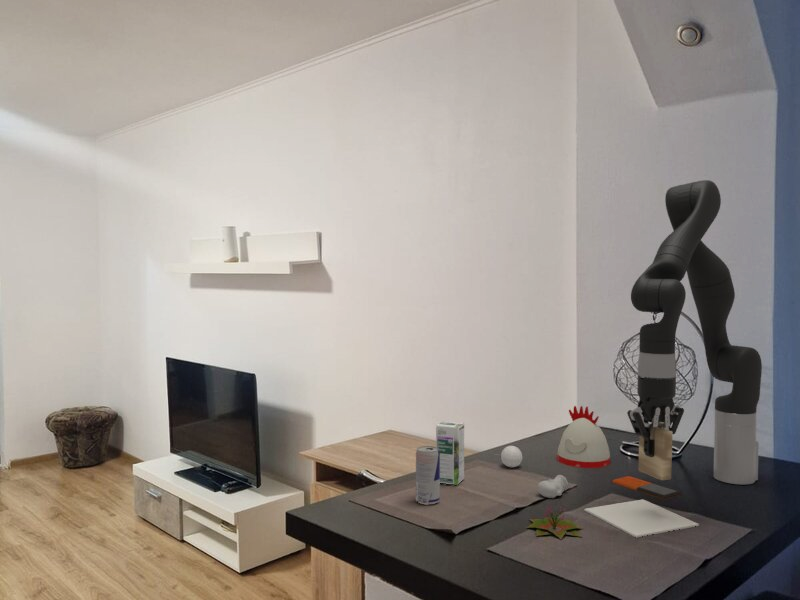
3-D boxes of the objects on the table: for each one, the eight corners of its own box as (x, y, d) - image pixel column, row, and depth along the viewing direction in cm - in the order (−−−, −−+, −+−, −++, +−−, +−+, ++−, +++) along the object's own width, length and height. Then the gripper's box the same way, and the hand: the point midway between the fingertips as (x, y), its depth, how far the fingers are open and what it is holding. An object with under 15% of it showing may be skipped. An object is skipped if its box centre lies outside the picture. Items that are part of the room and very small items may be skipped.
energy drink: (443, 499, 153) (443, 447, 152) (434, 507, 148) (434, 453, 147) (421, 496, 155) (421, 444, 155) (412, 503, 150) (412, 450, 150)
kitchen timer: (569, 451, 194) (569, 399, 193) (616, 459, 186) (617, 405, 185) (549, 462, 183) (550, 407, 182) (599, 471, 174) (600, 413, 174)
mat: (643, 501, 152) (643, 499, 151) (698, 526, 137) (698, 524, 137) (584, 510, 146) (584, 508, 146) (635, 537, 131) (636, 535, 131)
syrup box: (435, 483, 164) (435, 424, 163) (442, 477, 170) (442, 419, 169) (457, 486, 162) (457, 426, 161) (464, 479, 167) (464, 421, 167)
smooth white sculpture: (547, 505, 152) (532, 493, 156) (572, 498, 157) (556, 486, 161) (551, 489, 151) (536, 477, 155) (576, 482, 155) (560, 470, 159)
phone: (628, 474, 169) (682, 491, 156) (628, 480, 169) (682, 496, 156) (611, 479, 165) (664, 496, 153) (611, 484, 165) (664, 502, 153)
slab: (647, 469, 146) (649, 423, 146) (671, 479, 140) (673, 431, 139) (638, 470, 145) (639, 424, 145) (661, 480, 139) (663, 432, 138)
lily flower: (520, 519, 142) (520, 498, 142) (578, 520, 141) (578, 498, 141) (529, 542, 130) (529, 519, 130) (592, 543, 129) (592, 520, 129)
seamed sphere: (525, 466, 179) (525, 445, 179) (517, 471, 174) (517, 449, 174) (499, 461, 183) (499, 441, 183) (490, 466, 178) (490, 445, 178)
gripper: (669, 369, 147) (667, 448, 148) (617, 373, 142) (616, 454, 143) (695, 374, 141) (694, 456, 141) (642, 378, 135) (641, 463, 136)
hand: (655, 455), depth 142 cm, fingers closed on slab, 2 cm apart
